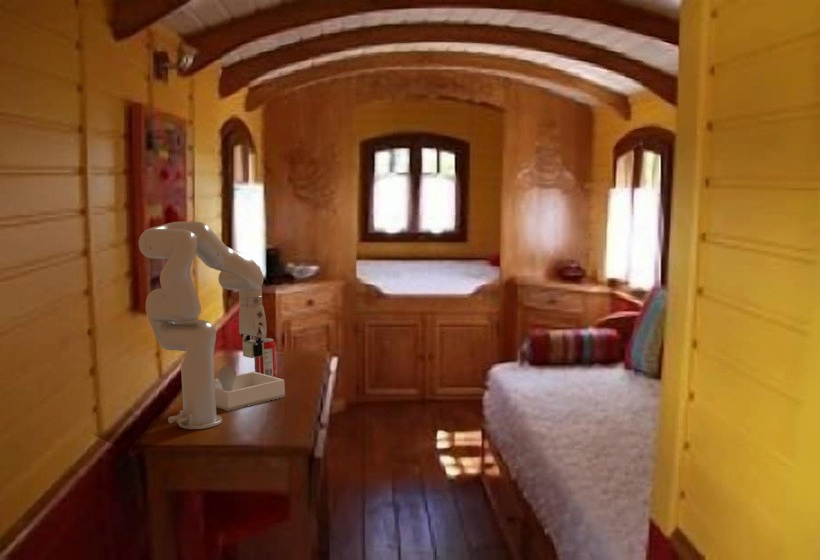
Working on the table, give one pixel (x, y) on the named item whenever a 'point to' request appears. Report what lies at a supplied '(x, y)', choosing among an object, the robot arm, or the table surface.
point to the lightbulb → (226, 377)
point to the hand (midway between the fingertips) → (253, 354)
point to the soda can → (267, 359)
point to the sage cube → (250, 348)
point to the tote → (249, 391)
